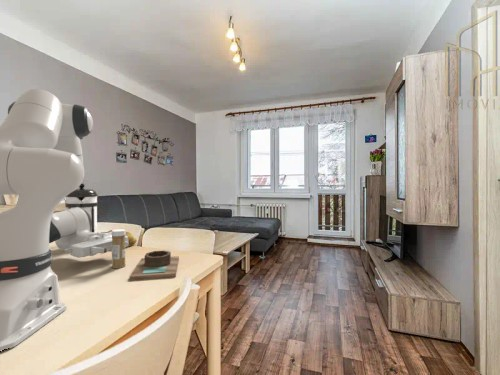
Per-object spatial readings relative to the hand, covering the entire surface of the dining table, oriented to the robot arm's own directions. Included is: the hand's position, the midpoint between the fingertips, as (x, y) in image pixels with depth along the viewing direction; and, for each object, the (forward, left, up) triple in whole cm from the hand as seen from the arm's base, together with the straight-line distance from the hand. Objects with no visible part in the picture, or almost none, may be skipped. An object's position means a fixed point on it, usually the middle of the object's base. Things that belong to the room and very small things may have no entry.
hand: (116, 247), depth 91 cm
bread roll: (+29, +6, -7) cm, 31 cm away
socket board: (-5, -15, -7) cm, 17 cm away
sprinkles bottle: (0, -1, -7) cm, 7 cm away
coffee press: (+33, +24, -7) cm, 41 cm away
